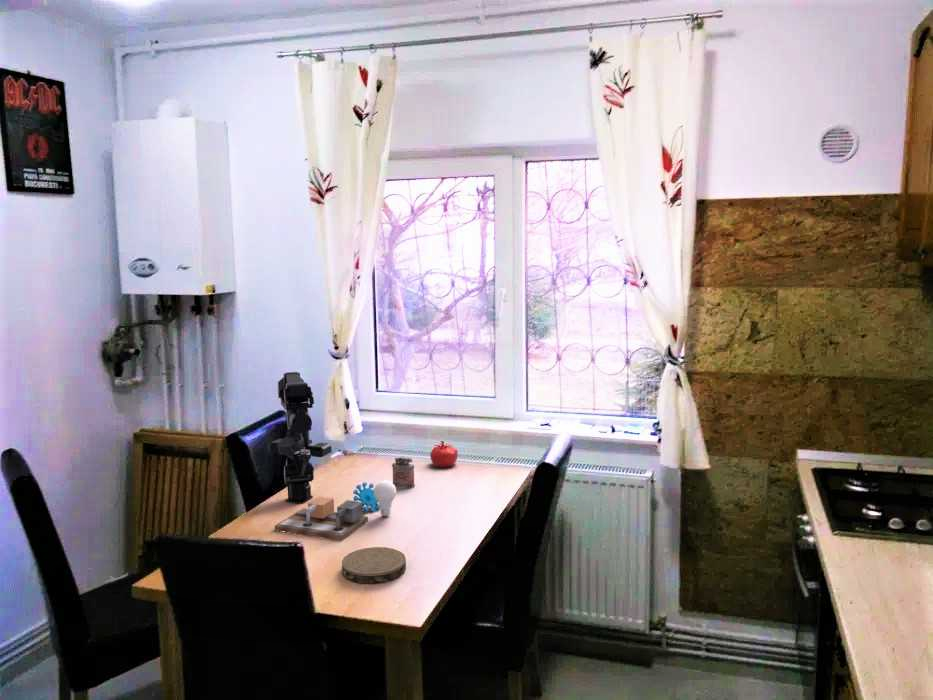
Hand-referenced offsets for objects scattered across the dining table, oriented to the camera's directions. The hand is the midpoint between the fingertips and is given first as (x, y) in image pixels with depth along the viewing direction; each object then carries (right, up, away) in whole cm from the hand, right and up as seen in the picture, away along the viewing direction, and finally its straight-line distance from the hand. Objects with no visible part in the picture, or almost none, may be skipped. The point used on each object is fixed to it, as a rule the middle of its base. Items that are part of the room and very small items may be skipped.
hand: (301, 475), depth 225 cm
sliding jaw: (+6, -11, -8) cm, 15 cm away
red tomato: (+42, -5, +49) cm, 64 cm away
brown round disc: (+27, -18, -38) cm, 50 cm away
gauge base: (+8, -13, -9) cm, 18 cm away
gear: (+20, -11, +5) cm, 24 cm away
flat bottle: (+29, -8, +26) cm, 40 cm away
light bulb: (+26, -12, -1) cm, 28 cm away
